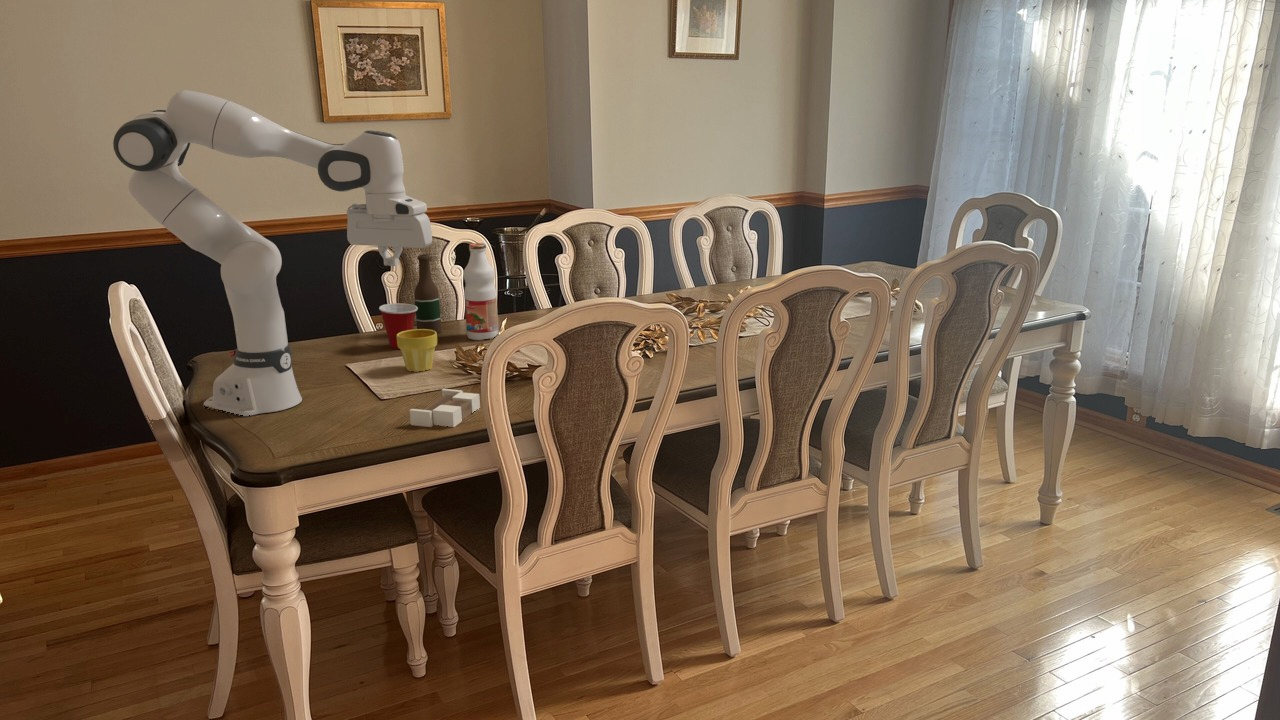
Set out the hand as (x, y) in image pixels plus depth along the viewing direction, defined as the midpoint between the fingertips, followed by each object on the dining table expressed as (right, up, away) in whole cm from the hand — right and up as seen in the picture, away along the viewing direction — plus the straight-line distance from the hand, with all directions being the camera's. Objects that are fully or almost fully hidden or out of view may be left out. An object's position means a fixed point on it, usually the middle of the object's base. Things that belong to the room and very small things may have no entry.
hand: (391, 265), depth 213 cm
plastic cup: (-12, -18, +56) cm, 60 cm away
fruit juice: (+10, -15, +66) cm, 68 cm away
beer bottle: (-7, -14, +71) cm, 73 cm away
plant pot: (-2, -24, +35) cm, 43 cm away
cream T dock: (+13, -34, 0) cm, 37 cm away
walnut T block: (+13, -34, 0) cm, 37 cm away
